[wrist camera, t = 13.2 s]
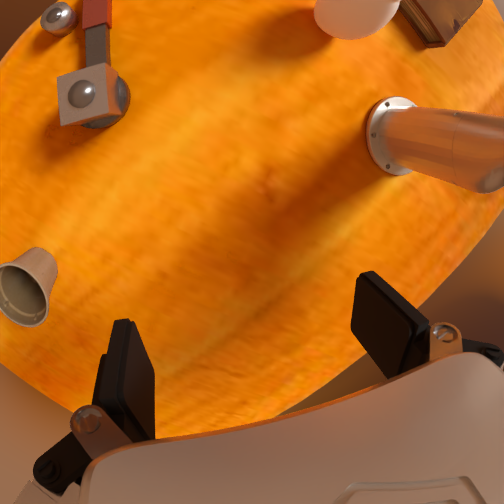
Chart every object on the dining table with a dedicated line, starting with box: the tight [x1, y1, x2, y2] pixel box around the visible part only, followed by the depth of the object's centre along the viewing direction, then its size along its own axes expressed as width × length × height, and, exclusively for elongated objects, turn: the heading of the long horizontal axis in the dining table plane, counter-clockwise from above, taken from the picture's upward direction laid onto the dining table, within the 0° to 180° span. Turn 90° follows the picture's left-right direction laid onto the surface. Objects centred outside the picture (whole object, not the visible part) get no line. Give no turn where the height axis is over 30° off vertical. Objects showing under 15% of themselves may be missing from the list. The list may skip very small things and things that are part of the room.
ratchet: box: [82, 0, 130, 129], centre depth 24 cm, size 7×20×6 cm, turn 5°
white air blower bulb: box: [314, 0, 401, 40], centre depth 22 cm, size 8×8×18 cm
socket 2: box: [57, 63, 121, 126], centre depth 24 cm, size 5×5×6 cm
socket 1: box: [40, 2, 79, 37], centre depth 21 cm, size 4×4×4 cm
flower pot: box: [0, 247, 58, 327], centre depth 32 cm, size 9×9×9 cm
